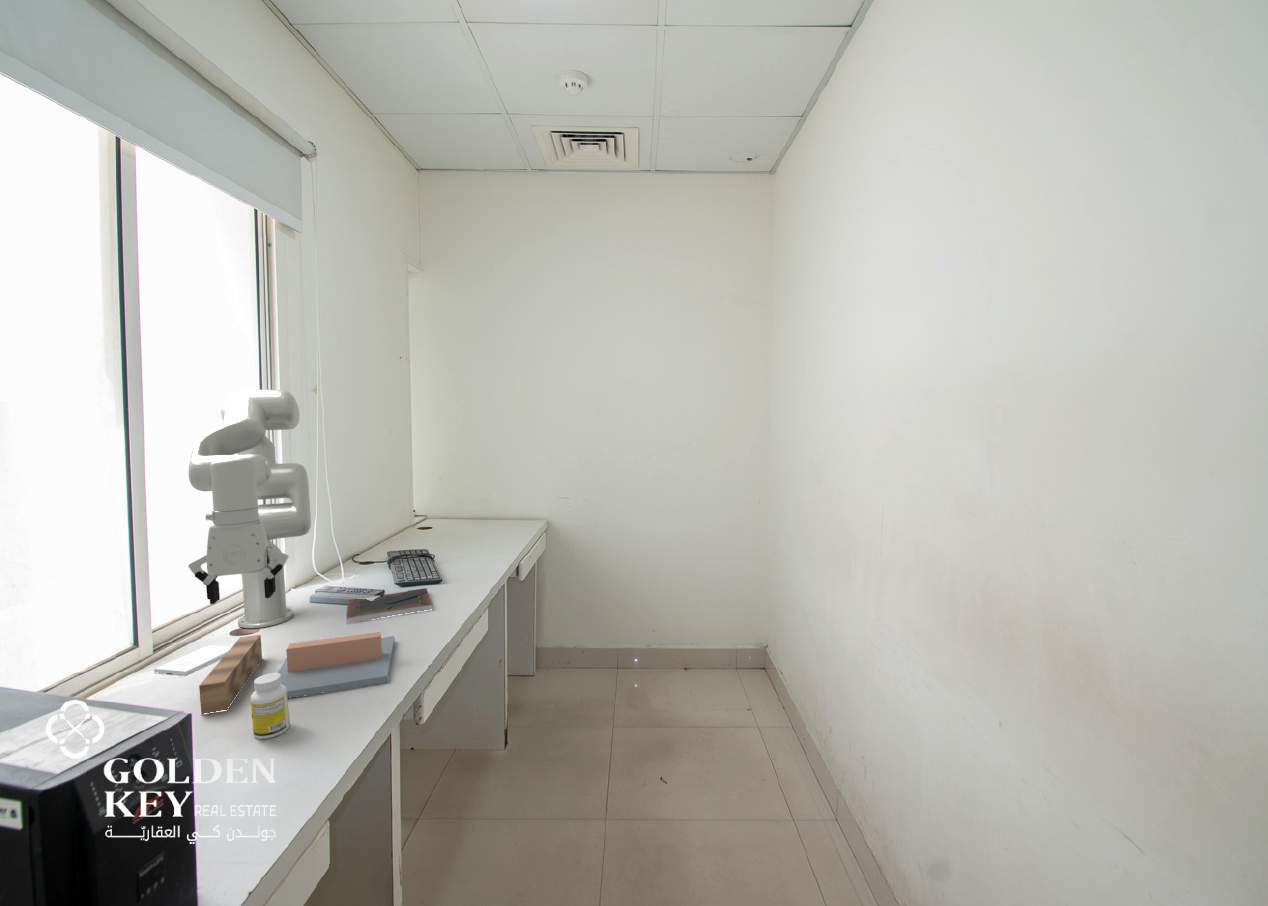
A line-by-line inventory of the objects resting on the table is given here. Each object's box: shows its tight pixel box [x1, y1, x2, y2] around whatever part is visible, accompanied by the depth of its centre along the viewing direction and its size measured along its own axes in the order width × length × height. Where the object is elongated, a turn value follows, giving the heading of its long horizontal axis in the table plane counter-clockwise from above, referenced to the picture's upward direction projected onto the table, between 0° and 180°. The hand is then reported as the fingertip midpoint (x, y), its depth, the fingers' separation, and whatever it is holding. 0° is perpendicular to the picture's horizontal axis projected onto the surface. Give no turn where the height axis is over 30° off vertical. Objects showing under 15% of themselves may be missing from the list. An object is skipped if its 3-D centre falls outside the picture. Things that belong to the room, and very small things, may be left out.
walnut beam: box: [198, 634, 263, 716], centre depth 117 cm, size 24×4×6 cm, turn 20°
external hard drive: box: [153, 644, 232, 676], centre depth 128 cm, size 2×8×12 cm
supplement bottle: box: [250, 672, 290, 740], centre depth 99 cm, size 5×5×10 cm
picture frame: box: [346, 587, 433, 625], centre depth 162 cm, size 16×2×22 cm
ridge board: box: [277, 631, 396, 699], centre depth 123 cm, size 22×22×6 cm
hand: (242, 599), depth 117 cm, fingers open, 9 cm apart
